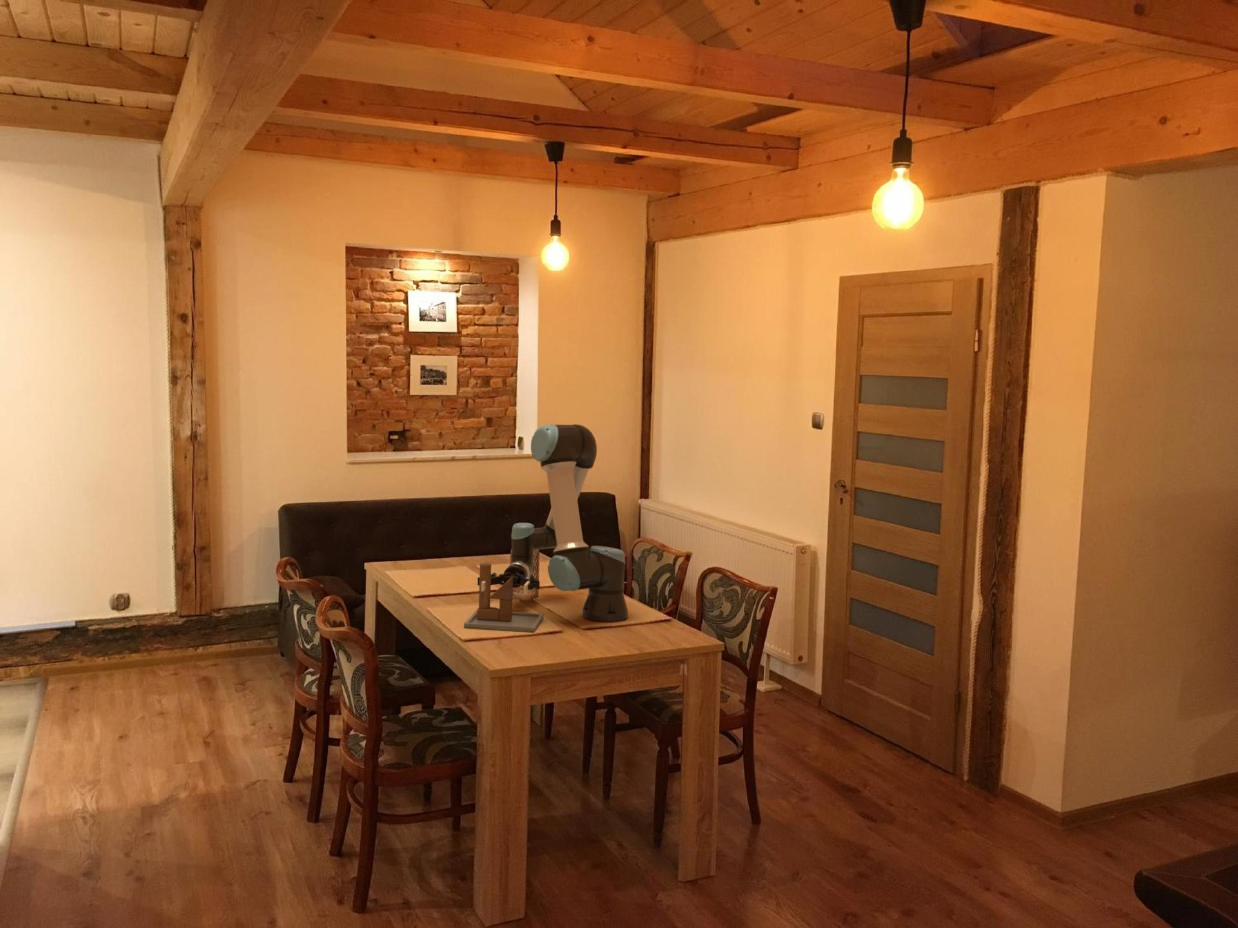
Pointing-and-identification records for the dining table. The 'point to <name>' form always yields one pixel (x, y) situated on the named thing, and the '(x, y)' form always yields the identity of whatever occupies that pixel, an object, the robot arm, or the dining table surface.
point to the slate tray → (507, 623)
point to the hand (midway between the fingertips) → (503, 588)
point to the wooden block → (502, 593)
